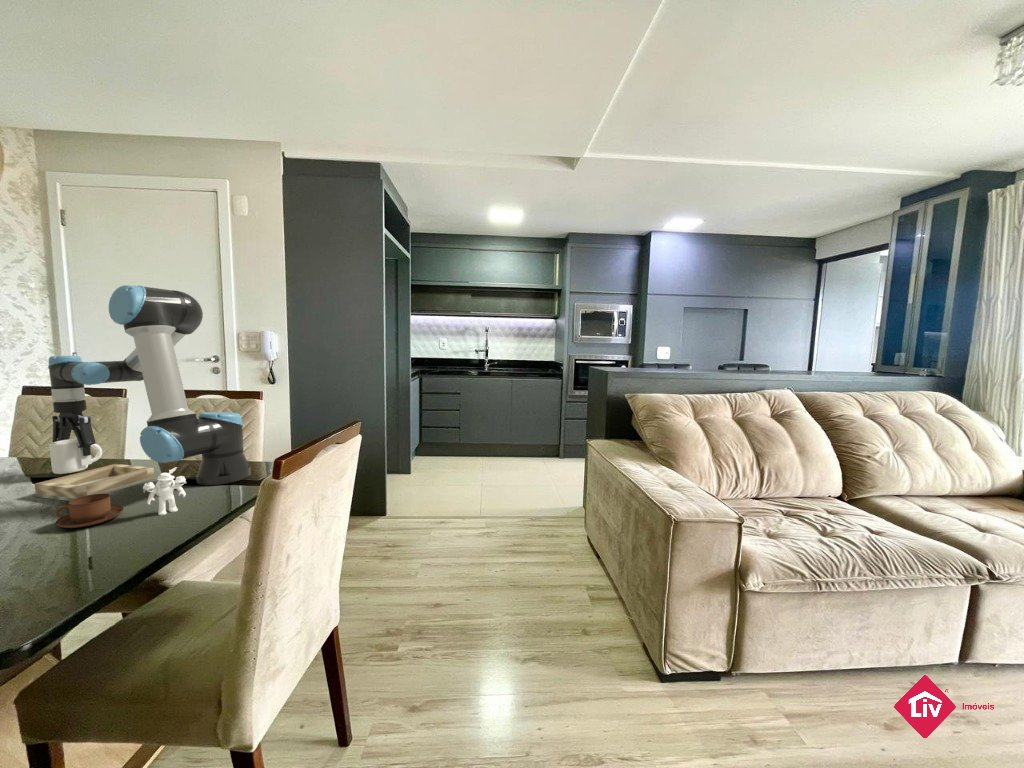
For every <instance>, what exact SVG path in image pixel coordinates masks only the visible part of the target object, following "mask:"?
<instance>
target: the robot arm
mask: <svg viewBox="0 0 1024 768" xmlns="http://www.w3.org/2000/svg"><path fill="white" fill-rule="evenodd" d="M108 314H109V317H110V318H111V320H112V322H114V323H115V324H118V325H120V326H123V328H124V333H126V334H127V335H129V336H130V337H132V338H133V340H134V345H135V348H134V349H133V350H132V351H131V353H130V354H129V355H127V357H126V358H125V359H124V360H113V361H112V360H110V361H108V360H107V361H105V360H104V361H83V360H82V357H80V355H51V356H50V357H49V358H48V366H47V368H48V372H49V380H50V387H51V389H50V390H51V399H52V401H54V402H53V403H52V406H53V412H54V413H56V414H59V415H53V416H52V417H51V420H52V422H53V424H52V442H56V441H62V440H69V439H70V437H71V433H72V431H73V433H74V435H75V437H76V439H77V440H78V442H79V444H80V446H78V448H79V458H80V466H84V465H88V466H89V465H92V464H93V463H92V460H91V459H92V452H91V447H90V446H91V445H93V444H97V443H96V439H95V434H94V430H93V427H92V423H91V422H92V418H91V416H84V413H83V411H86V410H87V401H86V400H85V398H86V393H85V392H86V390H85V385H87V386H92V385H99V384H108V383H109V384H110V383H120V382H121V383H124V382H141V381H142V382H143V383H144V387H145V391H146V396H147V400H148V404H149V407H150V413H151V415H150V417H149V418H148V419H147V420H146V424H147V426H146V427H145V428H143V429H142V430H141V432H140V436H139V443H140V446H141V449H142V450H143V452H144V454H145V455H146V456H147V457H148V458H149V459H150V460H152V461H154V462H156V463H161V464H164V463H165V464H166V463H171V462H177V461H178V462H179V461H182V460H184V459H187V458H192V457H196V456H199V455H201V460H200V463H199V467H198V471H197V473H196V477H195V478H196V483H197V484H198V485H200V486H201V485H202V486H216V485H217V486H219V485H224V484H225V485H226V484H229V483H234V482H238V481H241V480H244V479H246V478H248V477H250V476H251V475H252V474H251V472H252V471H251V466H250V465H249V463H248V459H247V458H246V456H245V453H244V436H243V435H244V434H243V426H244V424H243V421H242V420H243V419H242V416H241V414H240V413H238V412H226V411H207V412H200V413H199V414H198V417H197V413H196V412H195V411H193V410H191V409H190V408H189V407H188V406H189V405H188V403H187V402H188V401H187V398H186V393H185V390H184V384H183V381H182V380H183V379H182V376H181V371H180V367H179V363H178V359H177V358H178V357H177V354H176V350H175V346H176V345H177V344H178V343H179V342H180V341H181V340H182V339H183V338H185V336H187V335H192V334H193V333H194V332H195V331H196V330H197V329H198V328H199V327H200V325H201V324H202V321H203V318H204V317H203V315H204V313H203V309H202V307H201V305H200V302H198V300H197V299H195V297H194V296H192V295H190V294H189V293H187V292H184V291H180V290H173V289H172V290H171V289H166V288H165V289H164V288H157V287H149V286H143V285H131V284H130V285H129V284H127V285H125V284H124V285H122V286H119V287H117V288H116V289H115V290H114V291H113V292H112V294H111V296H110V298H109V301H108Z"/></svg>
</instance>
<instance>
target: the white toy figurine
mask: <svg viewBox="0 0 1024 768" xmlns="http://www.w3.org/2000/svg"><path fill="white" fill-rule="evenodd" d="M177 468H178V466H177V467H176V466H175V467H174V468H172V469H168V471H169V472H162V473H160V475H158V477H156V481H157V482H156V483H154V482H153V481H148V482H145V483H144V485H143V486H142V490H143V491H142V492H143V493H146V491H147V492H148V493H149V494H148V498H147V500H146V504H147V505H149V506H150V505H151V502H152V501H155V498H154V497H155V495H156V496H158V511H157V514H158V516H165V515H166V514H168V513H167V512H170V513H175V512H178V510H179V508H178V507H177V505H176V504H177V503H176V499H175V496H174V490H175V489H176V490H177V491H178V492H179V493H178V497H180V496H181V495H182V498H185V497H186V496H187V493H186V491H185V490H184V488H183V487H182V486H183V485H184V484H187V481H186V480H187V479H186V478H185V476H183V475H178V476H175V475H172V474H173V473H174V472H175V471H176V470H177ZM174 479H175V480H174ZM167 502H168V511H167V510H166V505H167Z"/></svg>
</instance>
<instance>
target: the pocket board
mask: <svg viewBox="0 0 1024 768" xmlns="http://www.w3.org/2000/svg"><path fill="white" fill-rule="evenodd" d="M155 477H156V476H155V468H154V467H152V466H151V467H150V466H149V467H148V466H140V465H130V464H121V463H120V464H119V463H113V464H109V465H105V466H101V467H96V468H92V469H90V470H83V471H79V472H77V473H73V474H69V475H65V476H61V477H60V476H59V477H56V478H52V479H49V480H44V481H40V482H37V483H34V489H35V491H34V492H35V497H37V498H44V499H50V500H51V499H52V500H57V501H67V502H70V501H71V500H74V499H76V498H80V497H83V496H88V495H93V494H110V493H114V492H117V491H120V490H124V489H127V488H130V487H134V486H136V485H137V486H138V485H140V484H143V483H144V484H145V483H148V482H151V481H153V480H155V479H156V478H155Z"/></svg>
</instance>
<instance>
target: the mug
mask: <svg viewBox="0 0 1024 768" xmlns="http://www.w3.org/2000/svg"><path fill="white" fill-rule="evenodd" d="M48 446H49V455H50V464H51V471H52V473H53V474H56V475H63V474H71V473H75V472H77V473H78V472H82V471H85V470H86V469H87V468H88V466H89V464H88V465H84V466H80V458H79V448H78V446H80V444H79V442H78V440H77V438H72V439H70V438H69V440H62V441H56V442H53V441H52V442H49V443H48ZM90 448H93V449H94V450H95V451H96V455H95V456H94V457H93V458H91V460H92V464H93V463H95V462H97V461H99V459H100V458H101V457H102V455H103V449H102V447H101V446H100V445H98V444H97V443H95V444H93V445H91V446H90Z"/></svg>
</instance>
